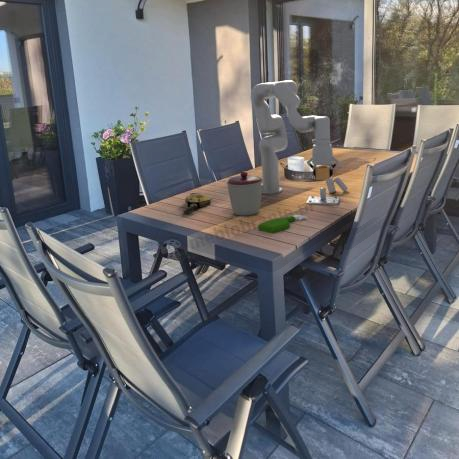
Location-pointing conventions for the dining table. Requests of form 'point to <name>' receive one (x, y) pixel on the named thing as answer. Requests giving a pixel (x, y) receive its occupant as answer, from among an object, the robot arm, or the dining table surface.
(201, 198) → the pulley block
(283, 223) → the spray bottle
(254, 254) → the dining table surface
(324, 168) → the tan hollow octagonal block
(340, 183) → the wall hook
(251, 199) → the canister
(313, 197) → the keeper
